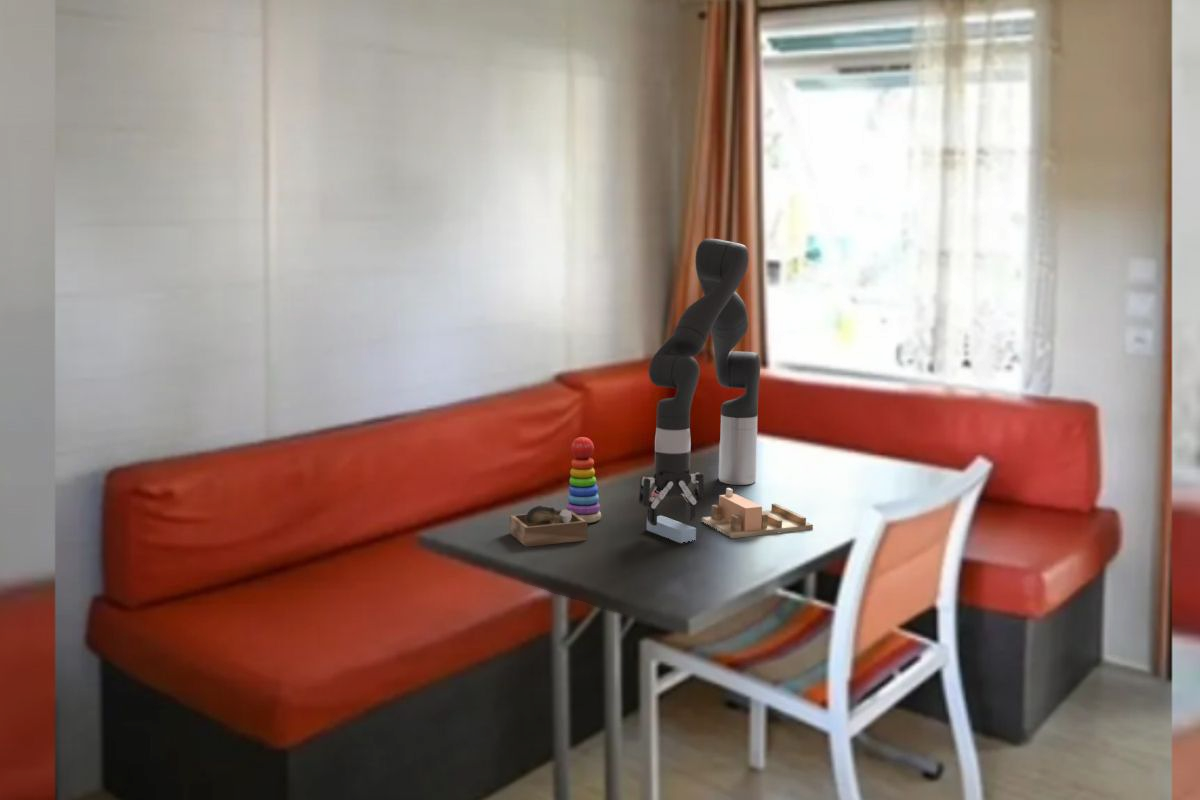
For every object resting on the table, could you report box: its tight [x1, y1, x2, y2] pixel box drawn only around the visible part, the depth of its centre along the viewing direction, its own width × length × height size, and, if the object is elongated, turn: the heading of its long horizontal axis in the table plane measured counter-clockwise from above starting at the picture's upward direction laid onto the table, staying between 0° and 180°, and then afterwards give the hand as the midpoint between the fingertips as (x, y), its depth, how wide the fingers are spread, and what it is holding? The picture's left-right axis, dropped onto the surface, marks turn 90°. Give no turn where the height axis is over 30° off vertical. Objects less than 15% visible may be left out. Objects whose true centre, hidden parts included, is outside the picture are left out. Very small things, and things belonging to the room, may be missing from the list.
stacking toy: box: [566, 436, 602, 524], centre depth 266 cm, size 8×8×19 cm
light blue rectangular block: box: [646, 515, 697, 544], centre depth 256 cm, size 12×4×3 cm, turn 35°
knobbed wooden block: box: [718, 487, 763, 531], centre depth 262 cm, size 12×4×6 cm, turn 22°
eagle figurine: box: [525, 505, 572, 525], centre depth 253 cm, size 8×7×9 cm
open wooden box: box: [509, 509, 588, 548], centre depth 254 cm, size 11×14×4 cm
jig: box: [701, 503, 814, 539], centre depth 264 cm, size 14×20×4 cm
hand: (671, 522), depth 255 cm, fingers open, 8 cm apart
